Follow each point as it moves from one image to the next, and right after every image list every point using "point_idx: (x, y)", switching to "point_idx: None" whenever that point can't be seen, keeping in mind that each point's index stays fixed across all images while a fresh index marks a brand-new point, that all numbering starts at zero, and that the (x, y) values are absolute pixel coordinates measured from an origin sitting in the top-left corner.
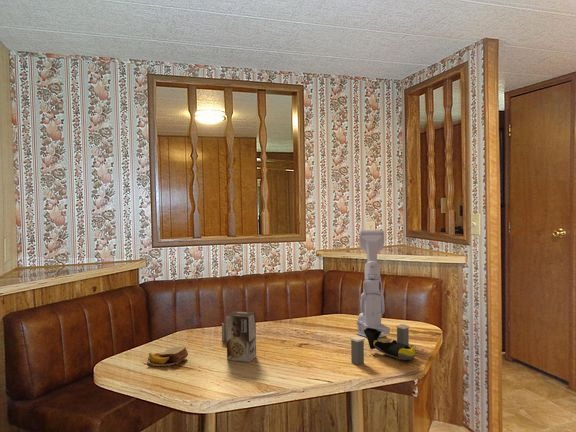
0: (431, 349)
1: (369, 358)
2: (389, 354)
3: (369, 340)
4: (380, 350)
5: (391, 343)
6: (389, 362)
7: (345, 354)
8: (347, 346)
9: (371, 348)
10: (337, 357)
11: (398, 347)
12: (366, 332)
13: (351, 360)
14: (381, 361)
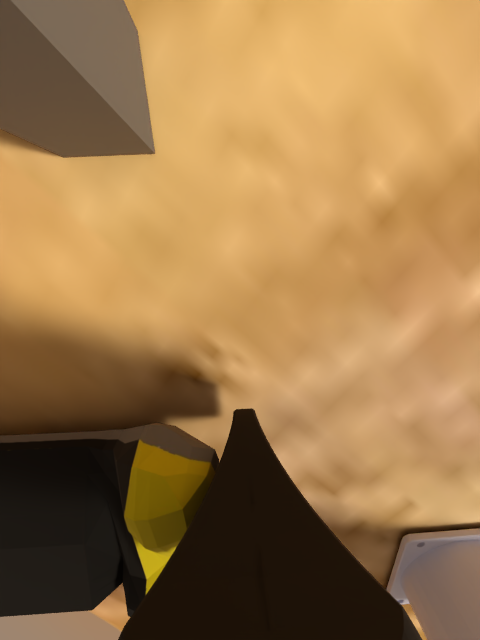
0: (108, 621)
1: (154, 300)
2: (60, 439)
3: (255, 473)
4: (128, 430)
5: (138, 565)
6: (4, 364)
7: (365, 186)
8: (471, 345)
9: (236, 414)
10: (371, 18)
11: (14, 552)
12: (312, 621)
13: (124, 6)
14: (48, 331)
